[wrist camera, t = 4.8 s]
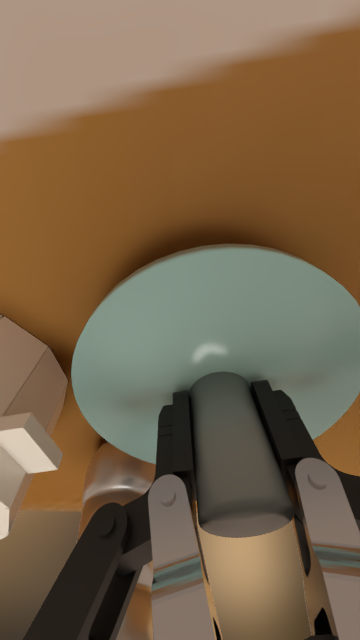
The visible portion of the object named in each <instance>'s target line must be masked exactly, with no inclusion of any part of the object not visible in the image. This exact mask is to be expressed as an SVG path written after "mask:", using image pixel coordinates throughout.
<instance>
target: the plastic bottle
mask: <svg viewBox="0 0 360 640" xmlns="http://www.w3.org/2000/svg"><path fill="white" fill-rule="evenodd" d="M155 470H156V464H153V463H150V462H146V461H143V460H141V459H138V458H136V457H133V456H131V455H129V454H127V453H125V452H123V451H121V450H120V449H118V448H116V447H115V446H113V445H112V444H111V443H109V442H108V441H107V442H105V443H104V444H103V445H102V446H101V447H100V448H99V449H98V450H97V451H96V452H95V453H94V455H93V458H92V460H91V462H90V465H89V467H88V469H87V472H86V477H85V484H84V490H83V509H82V515H81V520H80V526H79V531H78V537H77V542H78V540H79V539H80V537H81V535H82V533H83V531H84V530H85V528H86V526H87V524H88V523H89V521H90V519H91V517H92V516H93V514H94V513H95V512H96V511H97V510H98V509H99V508H100V507H101V506H103V505H105V504H107V503H111V502H115V503H119V504H120V505H121V506H124V505H125V504H127V503H129V502H131V501H133V500H135V499H137V498H139V497H140V496H142V495H143V494H145V493H146V492H147V490H148V489H149V488H150V486H151V485H152V483H153V480H154V477H155ZM76 544H77V543H76ZM152 581H153V560H152V561H151V562H149V563H147V564H146V565H144V566H143V568H142V571H141V573H140V576H139V579H138V582H137V584H136V587H135V590H134V592H133V595H132V598H131V600H130V603H129V606H128V608H127V611H126V614H125V616H124V619H123V622H122V624H121V627H120V630H119V633H118V635H117V638H116V640H153V617H152V601H151V587H152Z"/></svg>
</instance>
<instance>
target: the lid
mask: <svg viewBox="0 0 360 640" xmlns="http://www.w3.org/2000/svg"><path fill="white" fill-rule="evenodd" d="M71 377H72V387H73V391H74V395H75V399H76V401H77V404H78V406H79V408H80V410H81V412H82V414H83V415H84V417H85V418H86V420H87V421H88V423H89V424H90V425H91V426H92V427H93V428H94V430H95V431H96V432H97V433H98V434H99V435H101V436H102V437H103V438H104V439H105V440H106V441H108V442H109V443H111V444H112V445H113V446H115V447H116V448H118V449H120V450H121V451H123V452H125V453H127V454H129V455H131V456H133V457H136V458H138V459H141V460H143V461H146V462H150V463H153V464H156V452H157V438H158V436H157V433H158V416H159V414H160V411H161V409H162V407H163V406H164V405H172V404H173V392H180V391H187V390H188V393H189V398H190V411H191V424H192V437H193V450H194V462H195V475H196V495H197V509H198V521H199V525H200V527H201V528H202V529H203V530H204V531H206V532H208V533H210V534H214V535H217V536H222V537H232V538H233V537H235V538H239V537H240V538H241V537H251V536H257V535H262V534H266V533H269V532H272V531H275V530H277V529H280V528H282V527H283V526H285V525H287V524H288V523H289V522H290V521H291V520H292V519H293V517H294V515H295V510H294V507H293V504H292V501H291V498H290V496H289V493H288V490H287V487H286V485H285V482H284V479H283V476H282V474H281V471H280V468H279V465H278V463H277V460H276V457H275V454H274V452H273V449H272V446H271V443H270V440H269V438H268V435H267V432H266V429H265V427H264V424H263V421H262V418H261V416H260V413H259V410H258V407H257V405H256V402H255V399H254V396H253V394H252V391H251V382H253V381H260V380H268V382H269V384H270V386H271V388H272V390H273V391H275V390H282V391H283V392H284V393H286V394H287V395H288V396H289V397H290V398H291V400H292V402H293V404H294V405H295V407H296V410H297V411H298V413H299V415H300V417H301V420H302V421H303V423H304V425H305V426H306V428H307V430H308V432H309V434H310V436H311V438H312V440H313V439H315V438H316V437H318V436H319V435H321V434H322V433H323V432H325V431H326V430H327V429H328V428H330V427H331V426H332V425H333V424H334V423H335V422H336V421H337V420H338V419H339V418H340V417H341V416H342V415H343V414H344V413H345V412H346V411H347V410H348V408H349V407H350V406H351V405H352V403H353V402H354V401H355V399H356V397H357V396H358V394H359V392H360V306H359V305H358V303H357V301H356V300H355V299H354V298H353V297H352V296H351V294H350V293H349V292H348V291H347V290H346V289H345V288H344V287H343V286H342V285H341V284H339V283H338V282H337V281H336V280H334V279H333V278H332V277H330V276H329V275H328V274H326V273H325V272H323V271H322V270H320V269H319V268H317V267H316V266H314V265H312V264H310V263H309V262H307V261H305V260H303V259H301V258H299V257H297V256H295V255H292V254H289V253H286V252H283V251H280V250H277V249H274V248H269V247H263V246H258V245H252V244H229V243H227V244H216V245H205V246H199V247H195V248H191V249H186V250H182V251H178V252H175V253H173V254H170V255H167V256H165V257H162V258H159V259H157V260H155V261H153V262H151V263H149V264H147V265H145V266H143V267H141V268H140V269H138V270H136V271H135V272H133V273H132V274H130V275H129V276H128V277H126V278H125V279H124V280H122V281H121V282H119V283H118V284H117V285H116V286H115V287H114V288H113V289H112V290H111V291H110V292H109V293H108V294H107V295H106V296H105V297H104V298H103V299H102V301H101V302H100V303H99V305H98V306H97V307H96V309H95V310H94V311H93V313H92V315H91V317H90V318H89V320H88V322H87V324H86V326H85V328H84V330H83V331H82V333H81V335H80V337H79V339H78V342H77V345H76V348H75V351H74V354H73V360H72V368H71Z"/></svg>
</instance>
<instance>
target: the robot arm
mask: <svg viewBox="0 0 360 640" xmlns="http://www.w3.org/2000/svg"><path fill="white" fill-rule="evenodd" d="M251 391H252V394H253V396H254V399H255V402H256V405H257V407H258V410H259V413H260V416H261V418H262V421H263V424H264V427H265V429H266V432H267V435H268V438H269V440H270V443H271V446H272V449H273V452H274V454H275V457H276V460H277V463H278V465H279V468H280V471H281V474H282V476H283V479H284V482H285V485H286V487H287V490H288V493H289V496H290V498H291V501H292V504H293V507H294V510H295V515H294V517H293V519H292V522H293V528H294V533H295V538H296V542H297V548H298V553H299V558H300V563H301V569H302V574H303V581H304V594H305V601H306V608H307V613H308V618H309V624H310V629H311V633H312V636H310V637H309V638H307V639H305V640H360V477H359V476H354V475H350V474H346V473H343V472H340V471H338V470H337V469H335V468H333V467H332V466H330V465H329V464H328V463H327V462H326V461H325V460H324V459H323V458H322V456H321V455H320V453H319V451H318V449H317V448H316V446H315V444H314V442H313V440H312V438H311V436H310V434H309V432H308V430H307V428H306V426H305V425H304V423H303V421H302V420H301V417H300V415H299V413H298V411H297V410H296V407H295V405H294V404H293V402H292V400H291V398H290V397H289V396H288V395H287V394H286V393H284V392H283V391H282V390H275V391H273V390H272V388H271V386H270V384H269V382H268V380H260V381H253V382H251ZM157 436H158V438H157V452H156V470H155V477H154V480H153V483H152V485H151V486H150V488H149V489H148V490H147V492H146V493H145V494H143V495H142V496H140V497H139V498H137V499H135V500H133V501H131V502H129V503H127V504H125V505H124V506H121V505H120V504H119V503H115V502H111V503H107V504H105V505H103V506H101V507H100V508H99V509H98V510H97V511H96V512H95V513H94V514H93V516H92V517H91V519H90V521H89V523H88V524H87V526H86V528H85V530H84V531H83V533H82V535H81V537H80V539H79V540H78V542H77V544H76V546H75V548H74V549H73V551H72V553H71V555H70V556H69V558H68V560H67V562H66V564H65V566H64V567H63V569H62V571H61V572H60V574H59V576H58V578H57V580H56V581H55V583H54V585H53V587H52V589H51V590H50V592H49V594H48V596H47V597H46V599H45V601H44V603H43V605H42V606H41V609H40V610H39V612H38V614H37V615H36V617H35V619H34V621H33V622H32V624H31V626H30V628H29V630H28V632H27V633H26V635H25V637H24V638H23V640H116V638H117V635H118V633H119V630H120V627H121V624H122V622H123V619H124V616H125V614H126V611H127V608H128V606H129V603H130V600H131V598H132V595H133V592H134V590H135V587H136V584H137V582H138V579H139V576H140V573H141V571H142V568H143V566H144V565H146V564H147V563H149V562H151V561H152V560H153V570H154V576H153V581H152V587H151V601H152V617H153V632H154V640H222V635H221V630H220V626H219V621H218V617H217V612H216V608H215V603H214V599H213V595H212V591H211V587H210V583H209V578H208V573H207V569H206V564H205V560H204V555H203V550H202V546H201V541H200V537H199V532H198V527H197V520H196V519H197V518H196V504H195V500H197V495H196V475H195V462H194V450H193V437H192V424H191V411H190V398H189V393H188V390H187V391H180V392H173V404H172V405H164V406H163V407H162V409H161V411H160V414H159V416H158V433H157Z"/></svg>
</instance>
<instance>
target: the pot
mask: <svg viewBox="0 0 360 640" xmlns="http://www.w3.org/2000/svg"><path fill="white" fill-rule="evenodd" d="M47 347H48V346H47V345H46V344H44V343H43V342H41V341H40V340H38V339H37V338H36V337H34V336H33V335H31V334H30V333H28V332H27V331H25V330H24V329H22V328H21V327H20V326H18V325H17V324H15V323H14V322H12V321H11V320H9V319H8V318H6V317H5V316H4V317H3V318H2V315H0V539H2V538H4V537H6V536H8V534H9V532H10V530H11V527H12V525H13V523H14V520H15V518H16V516H17V513H18V511H19V509H20V506H21V504H22V502H23V499H24V497H25V495H26V492H27V490H28V488H29V485H30V483H31V481H32V478H33V476H34V474H35V473H37V472H44V471H51V470H58V468H59V465H60V462H61V459H62V456H63V453H62V452H61V450H60V449H59V448H58V447H57V445H56V444H55V443H54V441H53V440H52V439H51V434H52V432H53V430H54V427H55V425H56V423H57V420H58V418H59V416H60V413H61V411H62V409H63V405H64V400H65V395H66V390H67V385H68V379H67V377H66V376H65V374H64V372H63V370H62V369H61V367H60V365H59V363H58V362H57V360H56V358H55V356H54V355H53V353H52V351H51V349H50V348H47Z"/></svg>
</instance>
